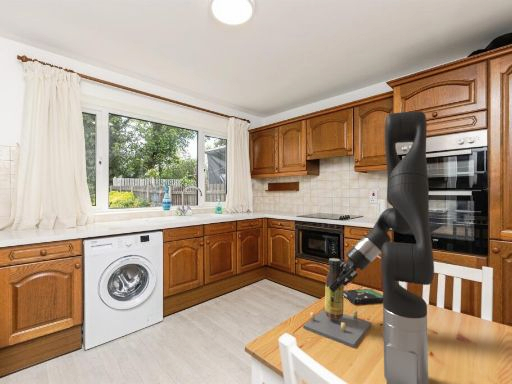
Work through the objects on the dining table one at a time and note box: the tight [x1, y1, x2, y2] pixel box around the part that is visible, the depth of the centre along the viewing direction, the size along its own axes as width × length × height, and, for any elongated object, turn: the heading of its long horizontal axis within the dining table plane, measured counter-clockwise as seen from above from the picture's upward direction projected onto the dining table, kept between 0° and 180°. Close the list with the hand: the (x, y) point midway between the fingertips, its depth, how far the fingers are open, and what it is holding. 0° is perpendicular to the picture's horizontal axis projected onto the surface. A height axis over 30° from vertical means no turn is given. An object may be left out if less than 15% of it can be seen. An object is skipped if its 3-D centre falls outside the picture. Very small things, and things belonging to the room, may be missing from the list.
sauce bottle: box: [324, 257, 345, 319], centre depth 89 cm, size 7×6×20 cm
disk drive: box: [343, 288, 383, 306], centre depth 109 cm, size 10×3×15 cm
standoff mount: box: [302, 308, 373, 349], centre depth 86 cm, size 17×17×4 cm
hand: (329, 286), depth 90 cm, fingers closed on sauce bottle, 6 cm apart
